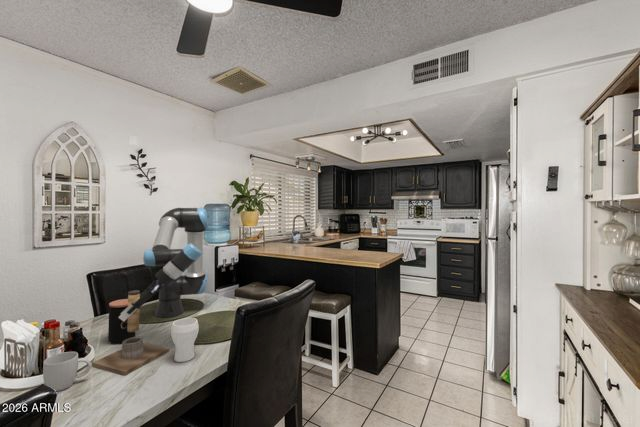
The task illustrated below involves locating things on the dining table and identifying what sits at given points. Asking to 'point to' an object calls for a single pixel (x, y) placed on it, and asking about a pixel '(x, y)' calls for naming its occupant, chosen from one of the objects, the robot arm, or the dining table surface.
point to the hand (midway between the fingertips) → (122, 317)
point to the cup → (184, 338)
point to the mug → (63, 370)
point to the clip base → (131, 363)
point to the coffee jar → (118, 323)
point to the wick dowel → (134, 318)
